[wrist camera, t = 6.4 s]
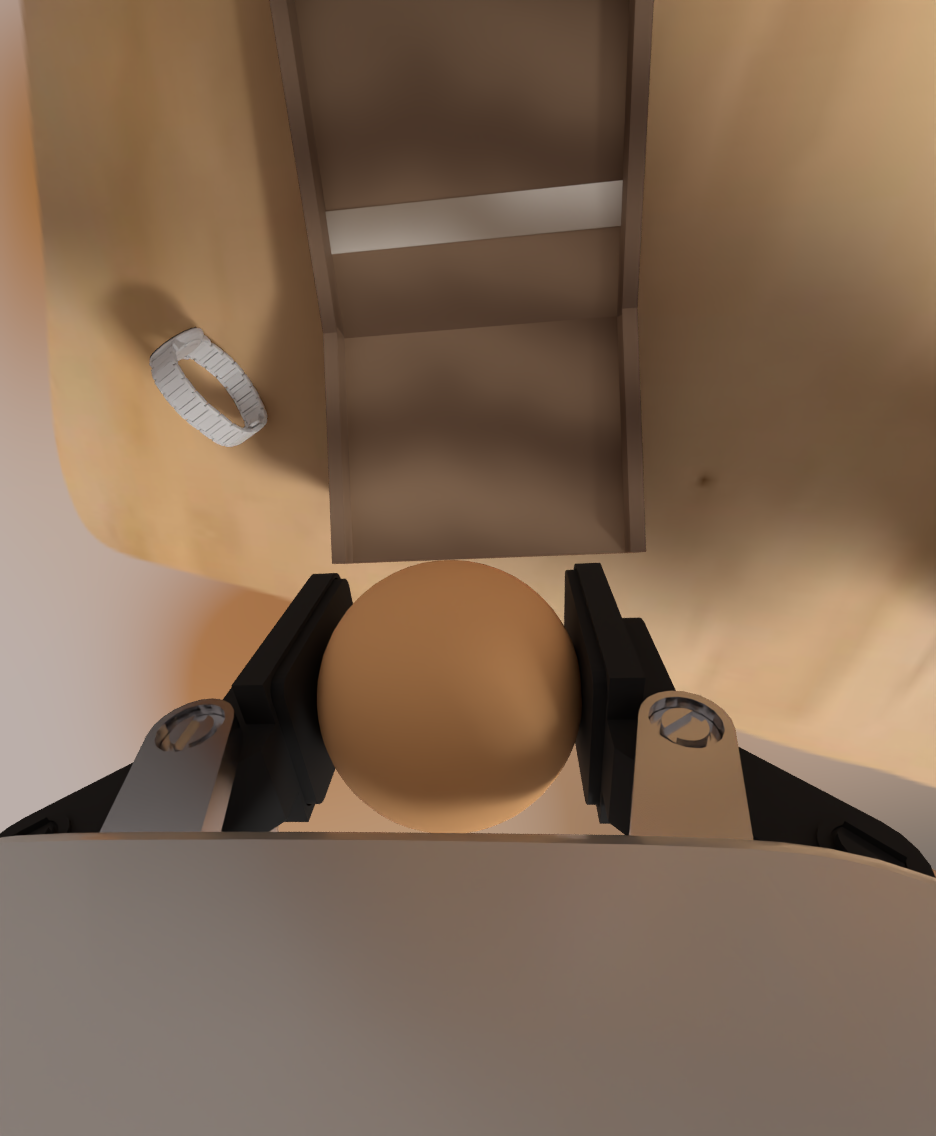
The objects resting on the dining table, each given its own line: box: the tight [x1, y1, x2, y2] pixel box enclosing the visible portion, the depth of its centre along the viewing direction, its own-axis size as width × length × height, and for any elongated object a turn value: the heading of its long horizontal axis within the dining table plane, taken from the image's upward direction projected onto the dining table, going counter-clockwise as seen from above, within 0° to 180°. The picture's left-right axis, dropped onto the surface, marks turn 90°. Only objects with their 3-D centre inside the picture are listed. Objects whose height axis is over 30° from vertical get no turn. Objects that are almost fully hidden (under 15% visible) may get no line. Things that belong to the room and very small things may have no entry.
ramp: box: [269, 0, 654, 564], centre depth 19 cm, size 22×13×7 cm, turn 4°
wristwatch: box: [150, 327, 267, 447], centre depth 23 cm, size 3×5×5 cm, turn 31°
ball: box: [317, 560, 582, 833], centre depth 10 cm, size 5×5×5 cm
